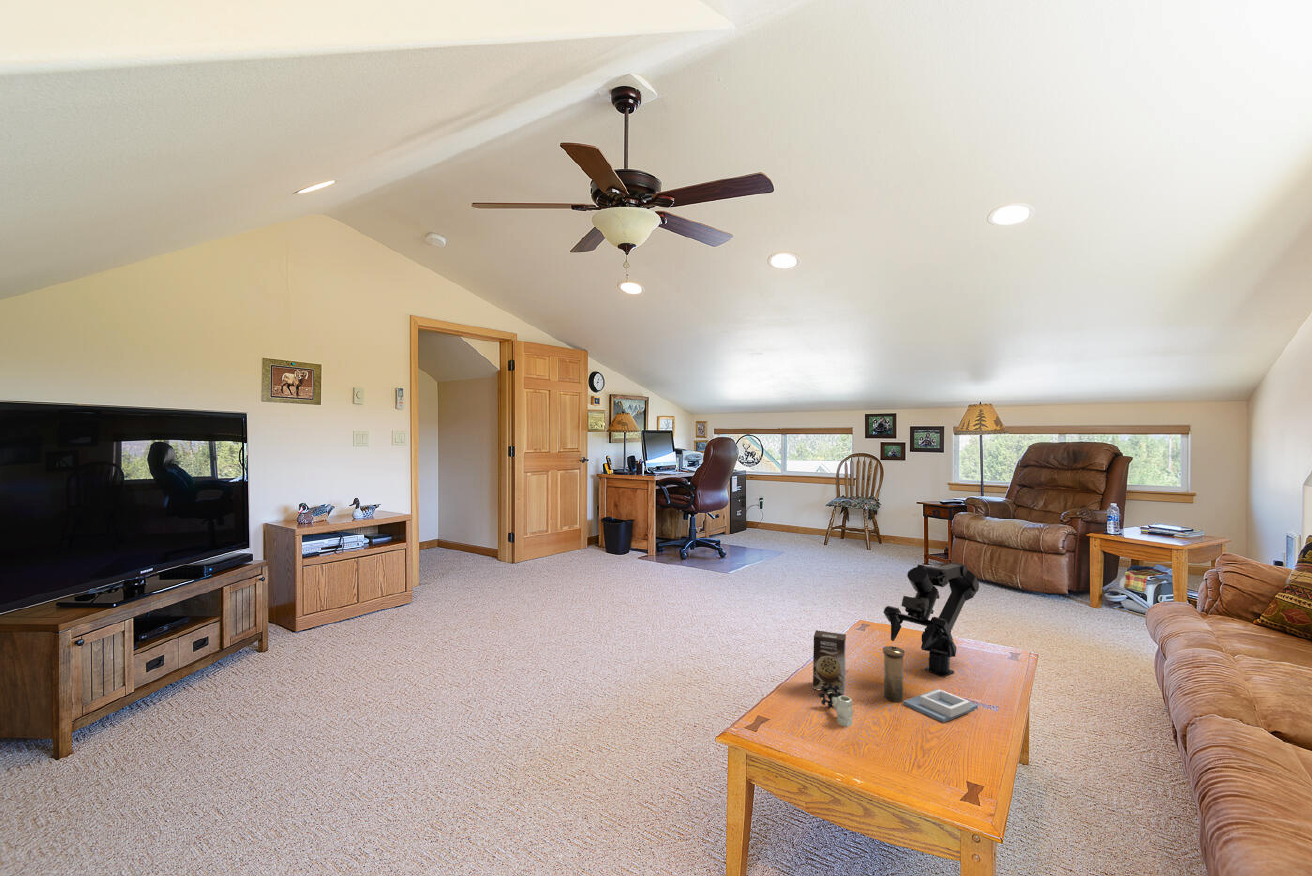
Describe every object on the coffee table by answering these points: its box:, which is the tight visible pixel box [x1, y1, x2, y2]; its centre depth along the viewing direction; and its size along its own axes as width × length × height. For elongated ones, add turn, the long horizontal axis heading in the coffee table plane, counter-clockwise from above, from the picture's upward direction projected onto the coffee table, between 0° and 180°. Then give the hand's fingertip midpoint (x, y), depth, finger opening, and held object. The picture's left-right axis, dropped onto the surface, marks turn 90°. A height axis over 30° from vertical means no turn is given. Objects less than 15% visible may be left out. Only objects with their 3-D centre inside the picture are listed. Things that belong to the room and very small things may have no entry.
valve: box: [817, 683, 854, 728], centre depth 153 cm, size 7×7×12 cm
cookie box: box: [812, 629, 847, 696], centre depth 170 cm, size 9×6×16 cm
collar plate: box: [902, 688, 979, 724], centre depth 159 cm, size 16×12×3 cm
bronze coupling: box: [882, 645, 905, 703], centre depth 164 cm, size 6×6×14 cm
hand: (906, 644), depth 169 cm, fingers open, 9 cm apart
